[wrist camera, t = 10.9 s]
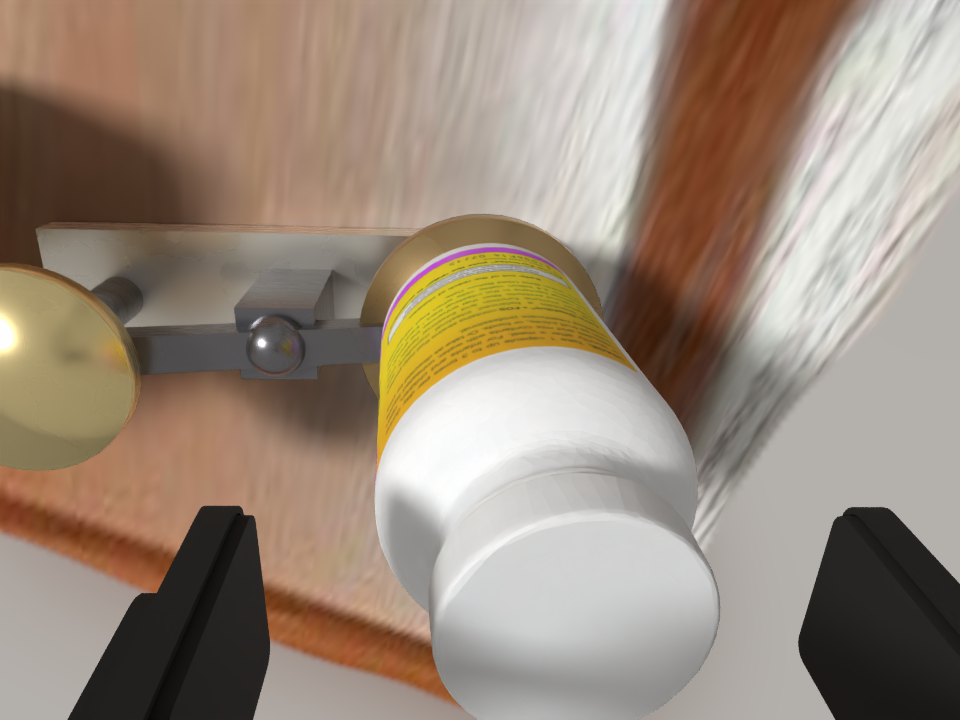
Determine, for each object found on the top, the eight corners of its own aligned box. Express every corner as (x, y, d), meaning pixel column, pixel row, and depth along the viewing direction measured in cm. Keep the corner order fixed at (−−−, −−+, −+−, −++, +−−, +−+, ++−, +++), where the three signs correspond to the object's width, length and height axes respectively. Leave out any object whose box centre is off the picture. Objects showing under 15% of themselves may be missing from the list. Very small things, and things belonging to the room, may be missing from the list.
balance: (584, 192, 27) (642, 245, 19) (567, 386, 30) (611, 497, 22) (29, 179, 25) (-143, 229, 18) (71, 383, 28) (-60, 500, 21)
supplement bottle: (338, 313, 22) (272, 605, 10) (519, 195, 21) (672, 363, 9) (455, 465, 25) (509, 835, 13) (621, 363, 24) (841, 661, 12)
